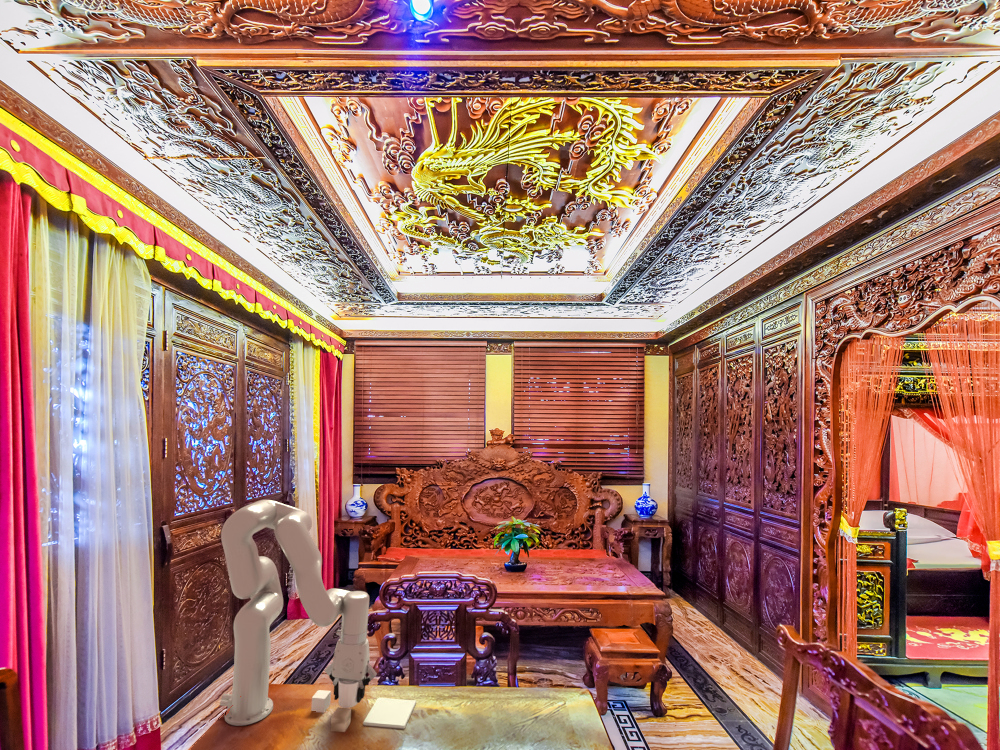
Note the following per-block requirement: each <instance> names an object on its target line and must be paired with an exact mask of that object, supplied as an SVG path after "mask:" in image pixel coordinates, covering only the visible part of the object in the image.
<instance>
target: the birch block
mask: <svg viewBox="0 0 1000 750" xmlns="http://www.w3.org/2000/svg"><path fill="white" fill-rule="evenodd" d="M330 717H331V718H330V732H339V733H345V732H346V731H347V730H348V727H349V726H350V724H351V717H352V707H350V708H343V707H340V706H338V707H336V709H335V711H334V712H333V713H332V714H331V716H330Z"/></svg>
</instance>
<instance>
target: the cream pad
mask: <svg viewBox="0 0 1000 750" xmlns="http://www.w3.org/2000/svg"><path fill="white" fill-rule="evenodd" d="M416 705H417V700H413V699H402V698H388V697H377V699H376V700H375V702H374V704H373V705H372V707H371V709H370V710H369V712H368V714H367V716H366V717H365V719H364V721H363V723H362V724H363V726H370V727H379V728H380V727H382V728H391V729H392V728H393V729H403V730H404V729H406V726H407V725H408V722H409V720H410V718H411V715H412V714H413V712H414V709H415V708H416Z"/></svg>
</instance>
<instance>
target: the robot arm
mask: <svg viewBox="0 0 1000 750" xmlns="http://www.w3.org/2000/svg"><path fill="white" fill-rule="evenodd" d="M312 526H313V519H312V517H311V515H310V514H309V513H308V512H307V511H304V510H303V509H300V508H298V507H294V506H291V505H288V504H284V503H282V502H278V501H276V500H271V499H260V500H257V501H255V502H253V503H250V504H247V505H245V506H243V507H241V508H240V509H238V510H236V511H235V512H233V513H232V514H231V515H230V516H229V517H228V518H227V519H226V521H225V522H224V523H223V526H222V529H221V534H220V539H221V544H222V547H223V552H224V557H225V561H226V567H227V572H228V576H229V577H228V578H229V583H230V586H231V592H232V593H233V594H234V596H235V597H236V598H238V599H240V600H246V599H250V600H249V601H248V602H246V603H245V604H244V605H243V606H242V607H240V609H239V611H238V612H237V613H236V616H235V617H234V620H233V635H234V637H233V638H234V657H233V659H234V660H233V661H234V662H233V663H234V664H233V677H232V691H231V693H222V695H221V698H220V701H219V706H223V707H224V706H226V707H227V709H226V710H225V712H226V711H227V710H228V709H229V708H230V707H231V706H232V705H233V706H232V707H231V708H230V711H229V713H228V714H227V715H226V716H225V715H224V721H225V722H226V723H227V724H229V725H231V726H237V727H238V726H242V727H243V726H247V725H252V724H254V723H257V722H259V721H261V720H263V719H265V718H267V716H269V715H270V713H271V712H272V711H273V709H274V701H273V700H272V699H271V698H270V697H269V685H270V664H271V648H272V647H271V646H272V645H271V644H272V643H271V642H272V641H271V635H270V626H271V625H272V624H273V622H274V621H275V620H276V619H277V618H278V616H279V615H280V614H281V612H282V611H283V607H284V597H283V592H282V587H281V583H280V578H279V577H280V576H279V573H278V569H277V566H276V564H275V563H274V561H273V560H272V559H271V558H269V557H267V556H265V555H264V556H263V555H260V556H259V551H258V546H257V543H256V542H255V540H254V539H253V535H254V534H256V533H259V531H261V530H263V529H265V528H268V529H271V530H273V531H274V532H273V533H274V536H275V539H276V541H277V542H278V544H279V545H280V548H281V550H282V551H283V553H284V556H285V557H286V559H287V560H288V562H289V565H290V566H291V569H292V571H293V572H294V578H295V584H296V589H297V593H298V596H299V600H300V602H301V604H302V607H303V608H304V610H305V612H306V614H307V615H308V618H309V619H310V621H311V622H312V623H313V624H314V625H316V626H317V627H320V628H325V627H329V626H331V625H332V624H333V623H334V622H336V620H337V619H338V617H339V616H340V615H341V629H338V630H337V631H336V635H337V636H339V639H338V640H337V642H336V645H335V649H334V653H333V659H332V662H331V663H330V664H329V665H328V666H327V667H326V668H325V669H324V672H325V673H326V674H327V676H328V678H329V679H330V681H331V682H332V685H333V695H334V698H333V700H334V701H337V700H339V688H338V687H339V686H338V680H339V679H349V680H358V683H359V688H358V692H357V704H359V703H361V701H362V699H364V697H365V691H366V686H367V685H368V684H369V683H370V682H371V681H372V680H373V679H374V678H376V676H377V672H376V670H375V669H374V668H373V666H372V665H371V663H370V656H371V655H370V643H369V639H368V638H367V634H368V622H369V610H370V609H369V607H370V595H369V594H368V592H366V591H363V590H353V591H352V590H351V591H350V590H346V589H341V588H335V587H334V588H333V587H332V588H330V589H326V588H325V585H324V583H323V579H322V565H323V557H322V553H321V552H320V550H319V548H318V547H317V545H316V542H315V541H314V538H313V537H312V535H311V533H310V531H311V530H312V529H311V528H312ZM366 674H369V675H368V676H366ZM240 696H241V697H240Z"/></svg>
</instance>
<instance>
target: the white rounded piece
mask: <svg viewBox="0 0 1000 750" xmlns="http://www.w3.org/2000/svg"><path fill="white" fill-rule="evenodd" d="M338 686H339V687H338V688H339V698H338V707H340V708H352V707H355V706H356V705H358V703H357V692H358V688H359V683H358V680H349V679H339V680H338Z"/></svg>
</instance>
